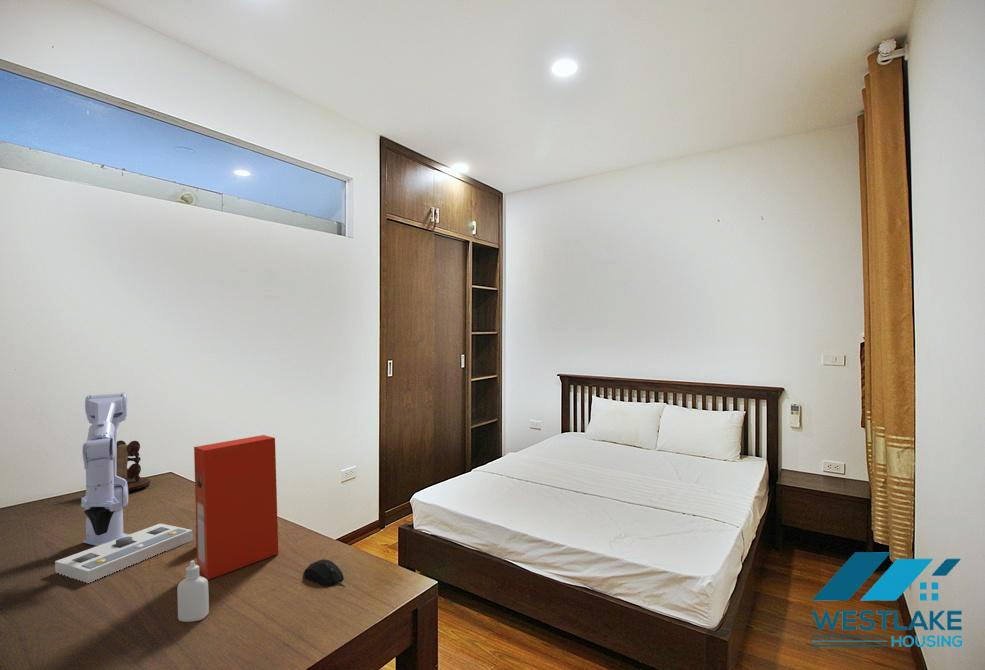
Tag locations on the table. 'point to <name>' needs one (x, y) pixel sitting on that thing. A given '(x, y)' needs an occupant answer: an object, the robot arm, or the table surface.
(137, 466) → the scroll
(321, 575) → the gaming mouse
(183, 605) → the eye dropper bottle
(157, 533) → the button
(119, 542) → the button middle
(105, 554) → the button board
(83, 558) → the button
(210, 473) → the file binder
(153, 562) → the table surface
